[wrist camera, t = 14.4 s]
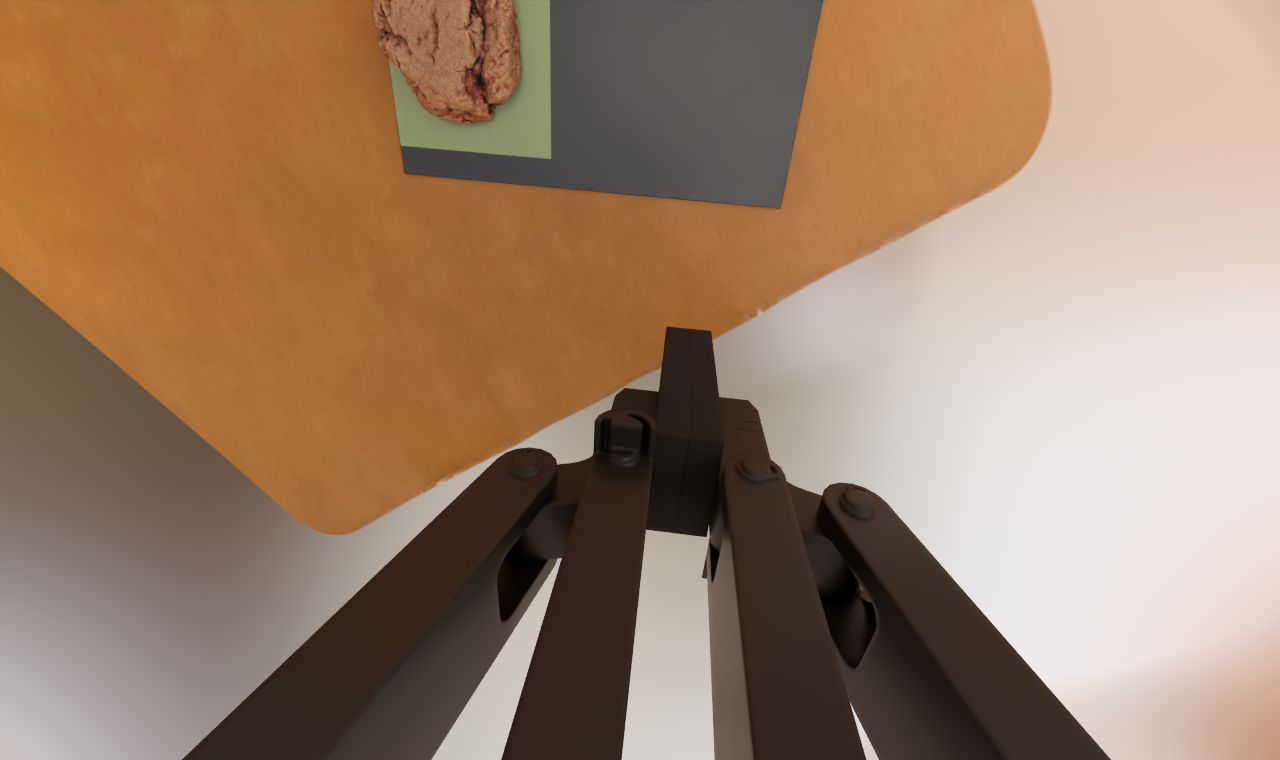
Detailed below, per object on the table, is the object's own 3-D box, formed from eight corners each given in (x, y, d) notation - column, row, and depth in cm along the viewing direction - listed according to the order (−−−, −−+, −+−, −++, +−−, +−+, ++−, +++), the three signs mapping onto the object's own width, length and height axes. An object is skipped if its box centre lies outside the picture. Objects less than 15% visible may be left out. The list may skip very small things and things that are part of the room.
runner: (362, -138, 29) (360, -139, 29) (844, -107, 28) (845, -109, 28) (405, 173, 38) (404, 173, 38) (780, 208, 36) (780, 208, 36)
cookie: (403, -89, 30) (375, -111, 28) (550, 10, 32) (537, -2, 29) (366, 72, 35) (339, 66, 32) (497, 151, 36) (482, 152, 34)
